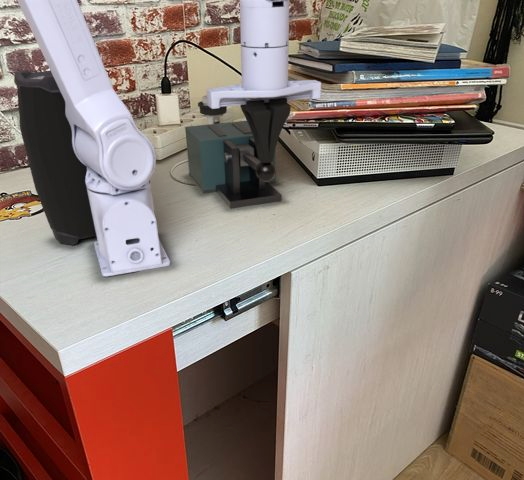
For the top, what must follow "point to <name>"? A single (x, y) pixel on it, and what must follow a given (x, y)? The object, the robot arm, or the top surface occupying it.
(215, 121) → the push button
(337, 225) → the top surface
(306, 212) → the top surface
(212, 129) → the toaster body
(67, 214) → the portable speaker
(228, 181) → the lever bracket
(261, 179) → the toaster lever
